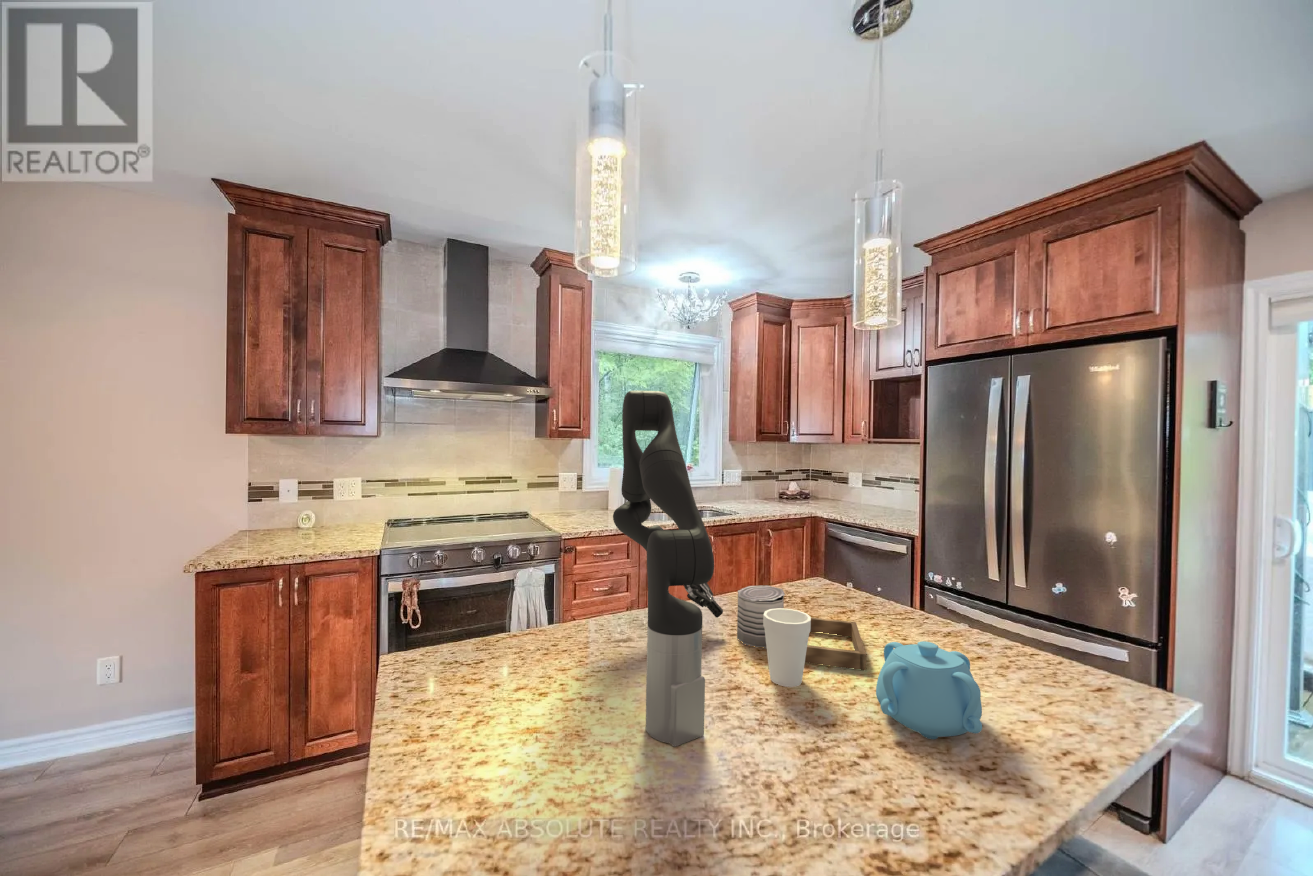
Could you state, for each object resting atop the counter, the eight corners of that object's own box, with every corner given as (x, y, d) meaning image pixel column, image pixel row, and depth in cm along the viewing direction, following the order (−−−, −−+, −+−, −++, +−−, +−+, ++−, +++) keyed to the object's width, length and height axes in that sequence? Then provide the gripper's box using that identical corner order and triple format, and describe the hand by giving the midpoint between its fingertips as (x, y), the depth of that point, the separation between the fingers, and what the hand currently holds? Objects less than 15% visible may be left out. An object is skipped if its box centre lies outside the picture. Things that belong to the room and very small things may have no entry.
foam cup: (805, 670, 108) (806, 609, 108) (814, 692, 99) (815, 625, 99) (760, 668, 109) (761, 607, 109) (764, 689, 100) (766, 622, 100)
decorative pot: (882, 690, 100) (883, 621, 101) (979, 713, 92) (979, 638, 92) (870, 730, 86) (871, 649, 87) (982, 761, 78) (983, 672, 78)
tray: (770, 658, 114) (771, 642, 114) (775, 626, 134) (775, 613, 134) (865, 670, 109) (866, 654, 109) (855, 636, 128) (856, 622, 128)
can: (788, 649, 119) (789, 598, 119) (740, 648, 119) (741, 597, 120) (778, 631, 131) (778, 584, 131) (733, 630, 131) (734, 583, 131)
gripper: (678, 558, 124) (727, 613, 121) (689, 547, 137) (734, 597, 133) (656, 577, 126) (705, 633, 122) (670, 565, 138) (714, 615, 135)
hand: (720, 614), depth 128 cm, fingers closed
